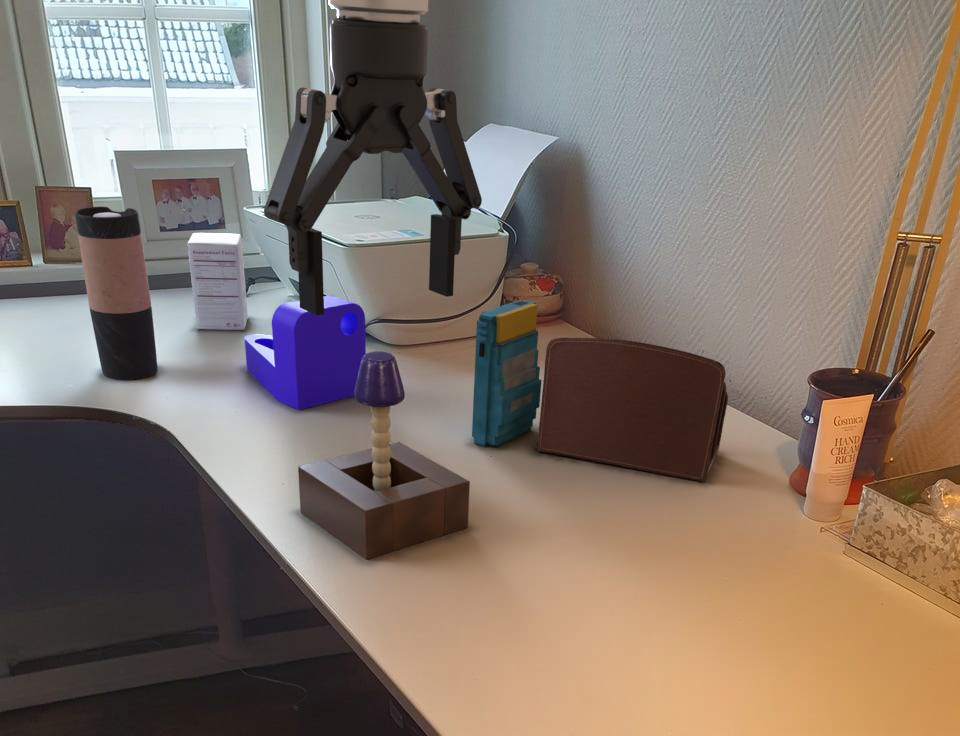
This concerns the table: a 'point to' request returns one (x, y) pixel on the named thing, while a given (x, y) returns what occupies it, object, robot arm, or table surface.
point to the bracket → (309, 353)
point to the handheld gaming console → (506, 373)
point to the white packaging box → (218, 281)
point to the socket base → (383, 500)
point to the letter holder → (632, 406)
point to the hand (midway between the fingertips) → (379, 302)
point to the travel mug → (118, 291)
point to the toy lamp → (379, 407)
